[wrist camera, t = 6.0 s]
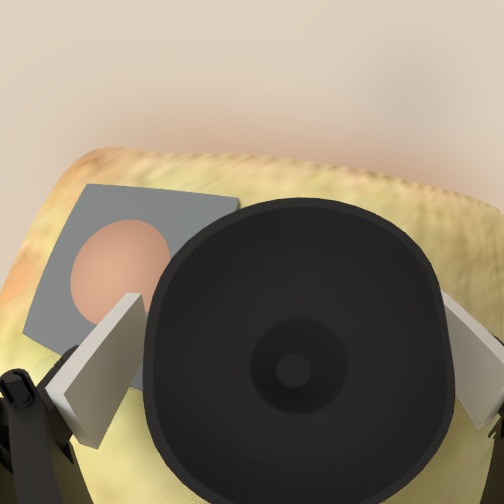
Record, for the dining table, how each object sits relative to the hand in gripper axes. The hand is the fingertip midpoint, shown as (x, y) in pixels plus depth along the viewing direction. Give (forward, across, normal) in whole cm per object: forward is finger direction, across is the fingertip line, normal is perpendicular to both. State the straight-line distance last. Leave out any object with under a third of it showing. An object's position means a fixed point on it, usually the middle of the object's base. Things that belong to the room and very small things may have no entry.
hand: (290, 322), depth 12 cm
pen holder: (+2, 0, -5) cm, 5 cm away
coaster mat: (+6, -11, 0) cm, 13 cm away
